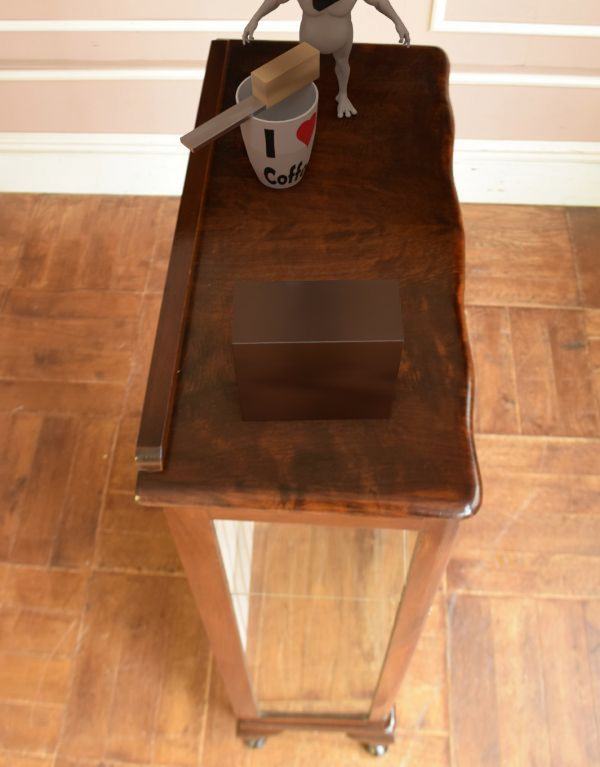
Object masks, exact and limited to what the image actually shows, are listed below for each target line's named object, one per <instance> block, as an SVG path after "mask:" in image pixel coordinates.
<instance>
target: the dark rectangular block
mask: <svg viewBox="0 0 600 767" xmlns="http://www.w3.org/2000/svg"><path fill="white" fill-rule="evenodd" d="M232 293H233V294H232V298H233V299H232V322H231V344H230V345H231V350H232V354H233V355H232V357H233V364H234V370H235V377H236V383H237V390H238V399H239V405H240V411H241V419H242V421H243V422H246V421H247V422H251V421H252V422H254V421H255V422H258V421H259V422H261V421H262V422H263V421H313V420H314V421H317V420H320V421H321V420H323V421H324V420H373V419H375V420H377V419H380V420H381V419H390V418H391V414H392V408H393V404H394V399H395V394H396V387H397V383H398V377H399V372H400V366H401V360H402V355H403V351H404V345H405V332H404V322H403V314H402V305H401V295H400V294H401V293H400V284H399V279H398V278H386V279H385V278H381V279H379V278H378V279H376V278H375V279H324V280H323V279H322V280H321V279H320V280H318V279H317V280H267V281H265V280H263V281H262V280H261V281H234V282H233V292H232Z"/></svg>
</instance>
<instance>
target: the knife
mask: <svg viewBox="0 0 600 767" xmlns="http://www.w3.org/2000/svg"><path fill="white" fill-rule="evenodd" d="M320 54H321V53H320V51H319V50H317V49H316V48H314V47H313V46H311V45H310V44H308V43H307V42H305V41H304V42H302V43H301V44H300V43H299V44H297V45H296V46H294V47H292V48H290V49H289V50H287V51H285V52H283V53H282V54H280V55H279V56H277V57H275V58H273V59H272V60H270V61H267V62H266V63H264V64H263V65H261V66H260V67H258V68H256V69H255V70H253V71H251V72H250V76H251V82H252V95H251V96H249V97H248V98H246V99H244V100H243V101H241V102H239V103H238V104H237V103H236V104H234V105H232V106H231V107H229V108H228V109H226V110H224V111H222V112H220V113H219V114H217V115H215V116H214V117H212V118H211V119H209V120H207V121H205V122H203V123H202V124H200V125H199V126H197V127H196V128H194V129H192V130H191V131H189V132H186V134H183V135H182V136H181V137H179V142H180V144H182V145H183V146H184V147H185V148H186V149H188V150H189V151H190V152H192V153H193V154H195V153H197V152H198V151H200V150H201V149H203V148H205V147H206V146H208V145H209V144H211V143H213V142H214V141H216V140H218V139H219V138H222V137H223V136H224V135H226V134H228V133H230V132H231V131H233V130H234V129H236V128H238V127H240V125H241V124H242V123H244V122H246V121H247V120H249V119H251V118H252V117H254V116H256V115H257V114H259V113H261V112H262V111H264V110H265V109H268V108H270V107H272V106H273V105H275V104H277V103H278V102H280V101H282V100H283V99H285V98H286V97H288V96H290V95H291V94H293V93H295V92H296V91H298V90H300V89H301V88H303V87H305V86H306V85H308V84H309V83H311V82H314V81H317V80H318V79H320V64H321V63H320V59H321V57H320V56H321V55H320Z"/></svg>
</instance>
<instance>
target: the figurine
mask: <svg viewBox="0 0 600 767" xmlns="http://www.w3.org/2000/svg"><path fill="white" fill-rule="evenodd" d="M289 1H290V0H263V2H262V4H261V5H260V6H259V8H258V9H257V11H256V12H255V13H254V14H253V16H252V17H251V18H250V20H249V21H248V23H247V25H245V27H244V29H243V34H242V35H241V38H242V45H243V46H245V45H246V43H248V44H250V43H251V41H254V40H255V37H254V33H255V31H256V30H257V29H258V26H259V22H260V21H261V20H262V19H263V18H265V17H266V16H267V15H269V14H270V13H272V12H273V11H275V10H277V9H278V8H279V7H280V5H284V4H286V3H288V2H289ZM296 1H297V4H298V5H299V7H300V9H301V11H302V14H301V21H300V25H299V29H298V35H299V36H298V41H299V44H301V43H302V42H304V41H305V42H307V43H308V44H310V45H311V46H313V47H314V48H316V49H317V50H319V51H320V54H322V55H330V54H332V56H333V58H334V60H335V66H334V72H335V76H336V77H337V81H338V88H339V91H338V94H336V96H335V101H336V102H337V103H338V104H337V107H336V108H337V109H336V111H337V117H338V119H341V118H343V117H344V115H345V117H346V118H350V117H351V116H353V115H354V116H355V115H357V114H358V111H357V109H356V108H355V107H354V106H353V104H352V102H351V101H350V99H349V98H348V92H347V90H348V83H349V79H350V78H349V77H350V74H351V67H350V65H349V58H350V54H351V51H352V47H353V43H354V24H353V20H352V11H353V9H354V8H355V5H356V3H357V2H358V0H340V1H338V2H336V3H334V4H333V5H331V6H329V7H327V8H326V9H324V10H322V11H320V12H318V11H317V10H315V9H314V8H313V5H312V0H296ZM362 1H363V2H364V3H365V4H367V5H369V6H372V7H374V8H375V10H376V11H378V12H379V13H380V14H382V15H383V16H384V17H386V18H387V19H389V20H391V22H392V23H393V24H394V28H395V31H396V33H397V34H398V37H399V40H398V44H402V47H405V46H406V48H407V49H409V48H410V46H411V37H410V32H409V30H408V28H407V27H406V25H405V23H404V22H403V20H402V18H401V17H400V15H399V14H398V13H397V11H396V10H395V9H394V7H393V6H392V4H391V2H390V0H362ZM344 113H345V114H344Z"/></svg>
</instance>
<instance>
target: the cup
mask: <svg viewBox="0 0 600 767" xmlns="http://www.w3.org/2000/svg"><path fill="white" fill-rule="evenodd" d="M318 90H319V89H318V87H317V85H316V84H315V82H314V81H313V82H311V83H309V84H308V85H306V86H305V87H303V88H301V89H300V90H298V91H296V92H295V93H293V94H291V95H290V96H288V97H286V98H285V99H283V100H282V101H280V102H278V103H277V104H275V105H273V106H272V107H270V108H268V109H265V110H264V111H262V112H261V113H259V114H257V115H256V116H254V117H252V118H251V119H249V120H247V121H246V122H244V123H242V124H241V125H239V127H240V132H241V137H242V140H243V143H244V147H245V149H246V153H247V156H248V159H249V162H250V164H251V166H252V168H253V170H254V172H255V174H256V176H257V178H258V180H259V181H260V183H262V184H263V185H264V186H266V187H269V188H271V189H280V190H281V189H288V188H290V187H293V186H295V185H297V184H298V183H299V182H300V181H301V180H302V178H303V177H304V173H305V171H306V168H307V166H308V163H309V161H310V159H311V154H312V149H313V144H314V140H315V135H316V130H317V117H318V105H319V91H318ZM251 95H252V82H251V75H249V76H248V77H246V78H245V79H244V80H243V81H241V83H240V84H239V86H238V87H237V89H236V92H235V102H236V104H238V103H239V102H241V101H243V100H244V99H246V98H248V97H249V96H251Z"/></svg>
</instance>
